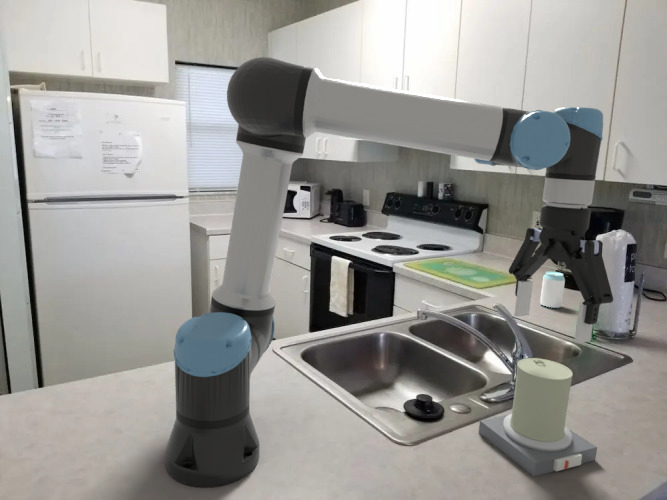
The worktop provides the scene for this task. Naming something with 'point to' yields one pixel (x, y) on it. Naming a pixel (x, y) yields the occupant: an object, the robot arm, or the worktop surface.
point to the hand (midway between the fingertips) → (549, 327)
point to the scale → (537, 447)
